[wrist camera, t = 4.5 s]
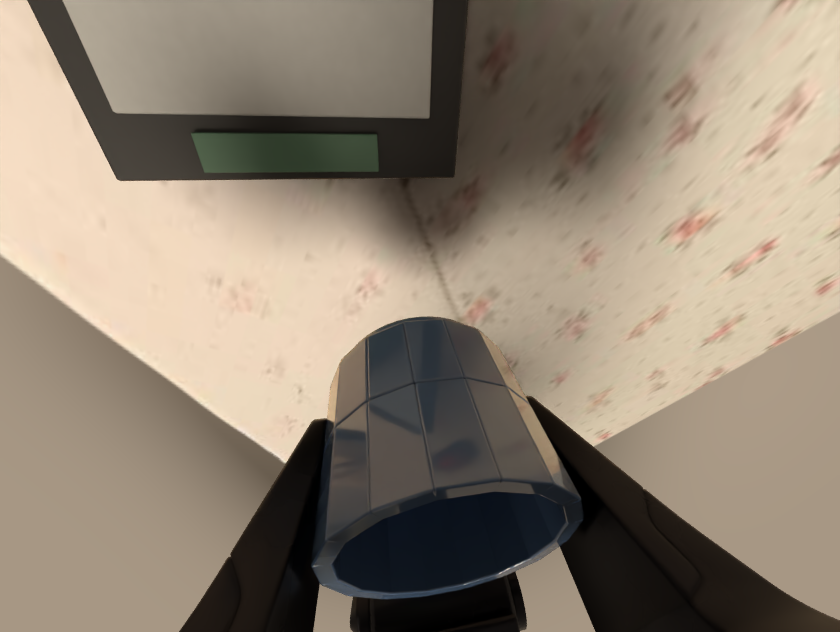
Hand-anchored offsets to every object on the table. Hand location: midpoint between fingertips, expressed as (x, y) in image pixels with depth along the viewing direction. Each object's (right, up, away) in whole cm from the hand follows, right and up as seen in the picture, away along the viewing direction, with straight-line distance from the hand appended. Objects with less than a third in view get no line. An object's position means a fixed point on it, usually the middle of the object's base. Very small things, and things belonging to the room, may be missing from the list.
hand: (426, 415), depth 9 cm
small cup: (0, +1, +1) cm, 2 cm away
